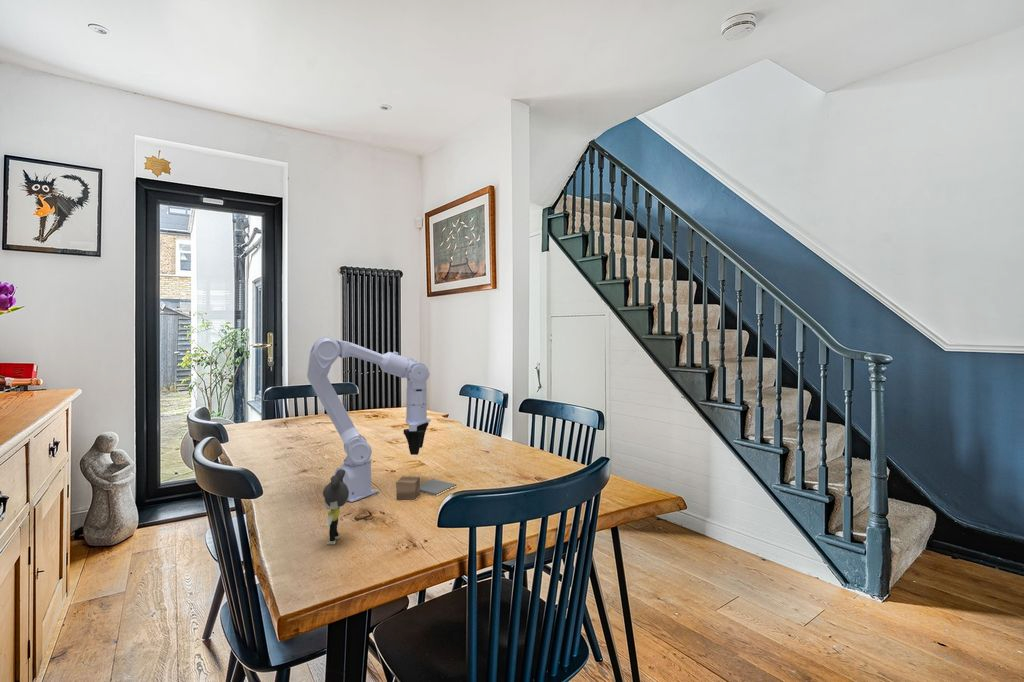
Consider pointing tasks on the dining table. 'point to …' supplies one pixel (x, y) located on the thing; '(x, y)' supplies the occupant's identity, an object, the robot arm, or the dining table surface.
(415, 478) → the walnut block
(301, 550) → the dining table surface
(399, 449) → the dining table surface
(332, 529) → the toy
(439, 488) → the slate coaster
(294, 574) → the dining table surface
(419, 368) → the robot arm
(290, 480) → the dining table surface
